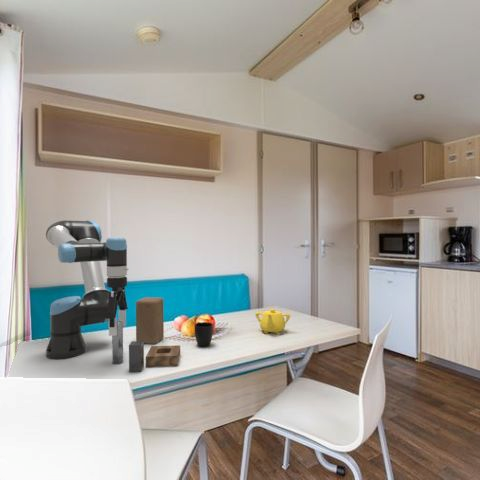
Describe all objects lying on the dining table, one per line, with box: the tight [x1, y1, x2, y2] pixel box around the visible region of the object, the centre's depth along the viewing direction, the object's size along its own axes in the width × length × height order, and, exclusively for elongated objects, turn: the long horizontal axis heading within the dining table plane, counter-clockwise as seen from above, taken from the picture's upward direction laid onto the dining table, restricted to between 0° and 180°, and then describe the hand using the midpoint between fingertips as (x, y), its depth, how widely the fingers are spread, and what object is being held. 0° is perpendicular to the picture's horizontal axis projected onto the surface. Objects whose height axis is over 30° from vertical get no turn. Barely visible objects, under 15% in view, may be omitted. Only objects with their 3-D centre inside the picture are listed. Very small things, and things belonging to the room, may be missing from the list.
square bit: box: [128, 340, 145, 373], centre depth 126 cm, size 4×4×10 cm
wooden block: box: [135, 296, 165, 345], centre depth 160 cm, size 10×10×20 cm
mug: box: [194, 321, 214, 348], centre depth 155 cm, size 8×12×10 cm
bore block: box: [145, 344, 181, 368], centre depth 135 cm, size 12×12×4 cm
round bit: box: [111, 320, 124, 365], centre depth 133 cm, size 4×4×16 cm
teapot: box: [255, 308, 291, 336], centre depth 174 cm, size 14×14×12 cm
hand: (117, 330), depth 133 cm, fingers open, 13 cm apart
